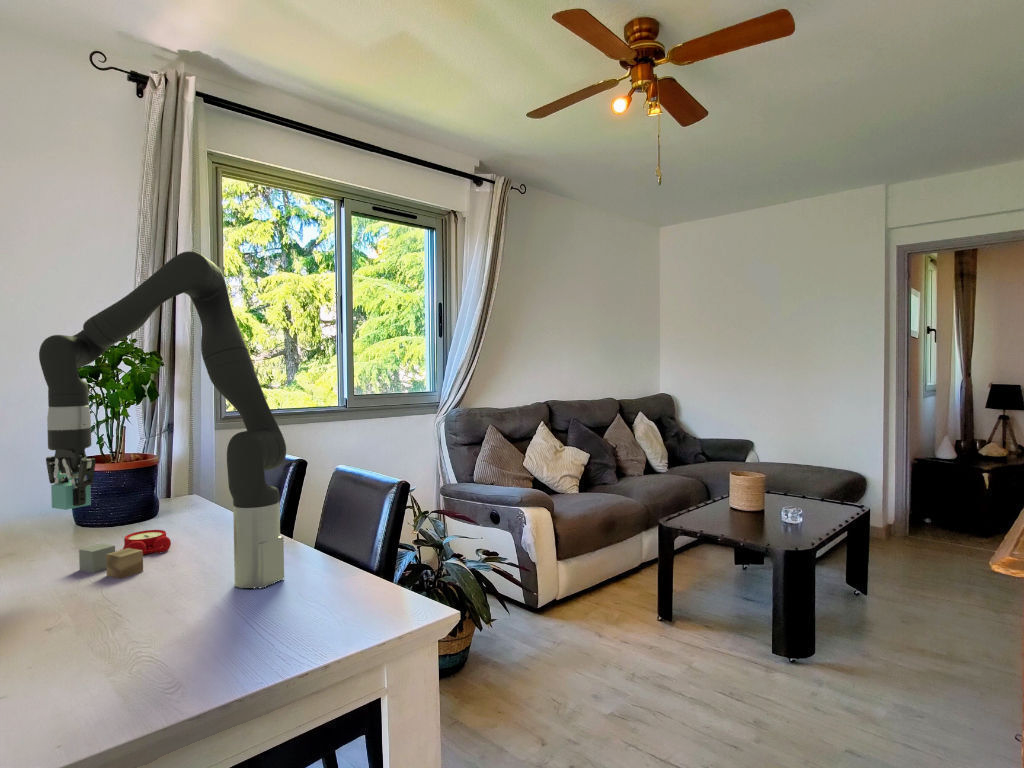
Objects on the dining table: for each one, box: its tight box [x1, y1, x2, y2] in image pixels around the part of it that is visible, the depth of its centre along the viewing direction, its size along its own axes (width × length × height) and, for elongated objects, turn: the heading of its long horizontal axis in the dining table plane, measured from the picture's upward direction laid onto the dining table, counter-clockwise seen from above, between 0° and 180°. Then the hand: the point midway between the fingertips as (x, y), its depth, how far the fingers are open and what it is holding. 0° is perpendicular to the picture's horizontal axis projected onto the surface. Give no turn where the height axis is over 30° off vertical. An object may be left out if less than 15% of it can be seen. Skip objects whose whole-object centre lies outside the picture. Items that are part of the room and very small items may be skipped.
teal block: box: [50, 480, 92, 511], centre depth 124 cm, size 5×5×5 cm
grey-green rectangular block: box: [78, 542, 116, 574], centre depth 134 cm, size 5×5×5 cm
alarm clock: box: [121, 529, 172, 556], centre depth 147 cm, size 10×6×15 cm
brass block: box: [106, 548, 144, 580], centre depth 130 cm, size 5×5×5 cm
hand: (71, 503), depth 124 cm, fingers closed on teal block, 5 cm apart
